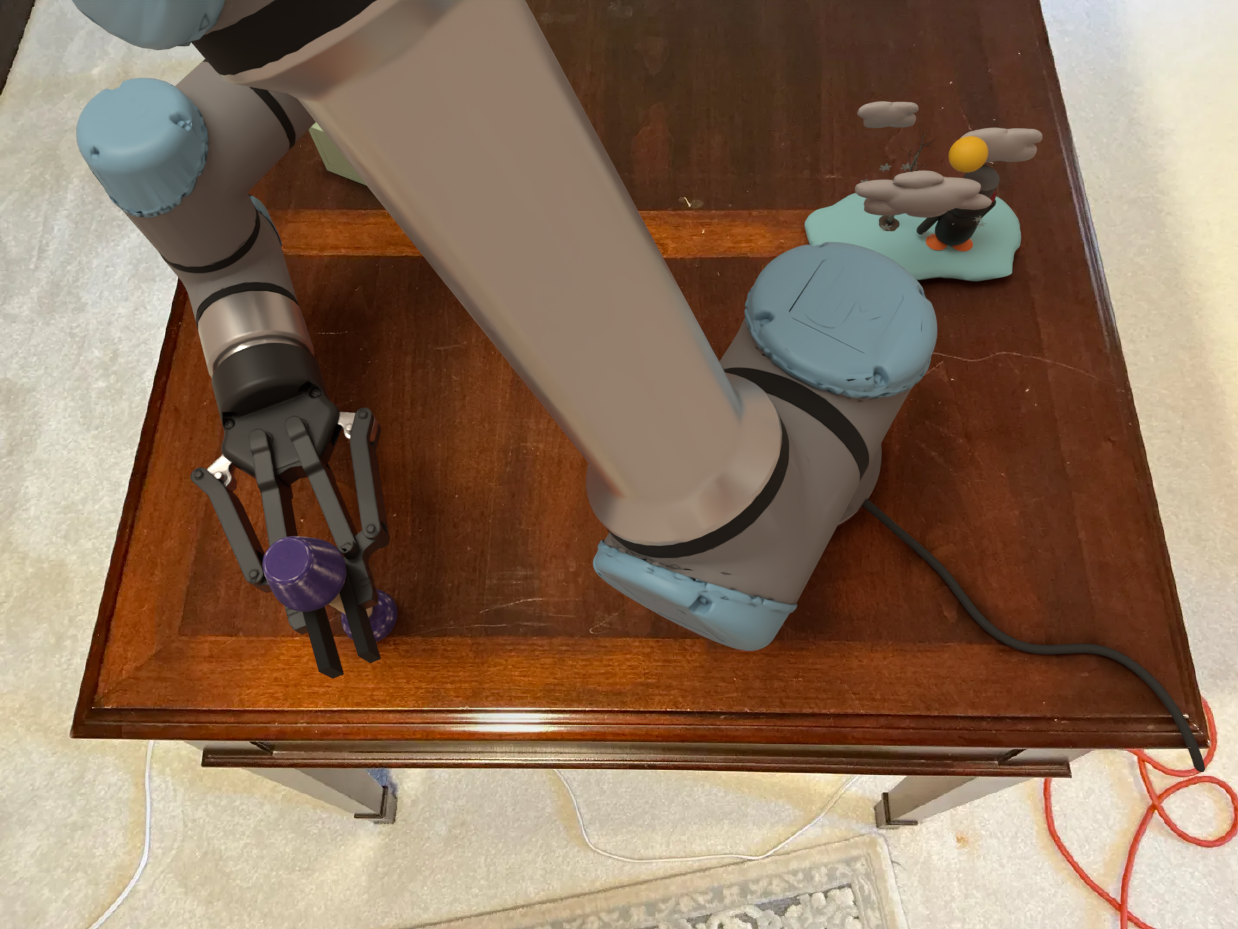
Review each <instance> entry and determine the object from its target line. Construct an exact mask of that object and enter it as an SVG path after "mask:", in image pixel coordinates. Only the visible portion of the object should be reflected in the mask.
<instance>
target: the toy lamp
mask: <svg viewBox="0 0 1238 929" xmlns="http://www.w3.org/2000/svg"><path fill="white" fill-rule="evenodd" d="M264 553H265V555H264V558H263V572H264V574H265V577H266V579H267V581H268V584H269V586H270V588H271V590H272V594H273V596H274V597H275V598H276V600H277V601H278V602H279V603H280V604H281V605H283V606H284V607H285V606H286V607H288V608H289V609H292V610H295V611H299V612H309V611H314V610H317V609H320V608H322V607H324V606H325V607H327V605H329V606H330V607H332V608H335V609H336V610H337V611H338V612H339V613H340V623H341V627H342V629H343V631H344V633H345V634H346V636H347V637H348V638H349V639H351V640H352V641H353V638H352V634H351V631H350V628H349V624H348V621H347V618H346V614H345V611H344V607H343V604H342V601H341V597H340V594H339V593H340V591H341V589H342V587H343V585H344V582H345V578H346V564H345V561H344V558H343V556H342V554H341V553H340V551H339V550H338V549H337V546H335V545H334V544H332V543H331V542H329V541H327V540H325V539H321V538H318V537H317V538H316V537H308V536H299V535H298V536H290V537H284V538H281V539H279V540H277V541H276V542H274V543H273V544H272V545H271V546H270V547H268V548H267V550H265V552H264ZM376 589H377V593H378V596H379V600H378V605H376V606H373V607H371V608H368V609H366V611H367V614H368V617H369V621H370V624H371V627H372V630H373V634H374V637H375V640H376V643H378V642H380V641H382V640H384V639H386V637H387V636H389V634H390V633H391V632H392V631H393V629H394V628H395V625H396V624H397V620H398V606H397V604H396V602H395V600H394V599H393V598H392V596H391V595H390V594H388V593H387V592H386V591H384V590H381V589H379V588H376Z"/></svg>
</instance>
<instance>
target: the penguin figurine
mask: <svg viewBox="0 0 1238 929" xmlns="http://www.w3.org/2000/svg"><path fill="white" fill-rule="evenodd" d="M918 112H919V105H918V104H917V103H915V102H911V101H894V102H891V101H886V100H885V101H883V100H881V101H880V100H879V101H873V102H869V103H866V104H863V105H862V106H860V107H859V108H858V110H857V117H859V118H861V119H862V123H863V124H862V125H863V127H865V128H868V129H882V128H887V127H890V128H907V127H908V128H909V127H912V126H914V125H915V123H916V121H917V116H916V115H915V113H918ZM918 128H919V130H920V131H919V132H922V128H921V126H918ZM928 129H929V126H928V127H927V129H926V131H925V133H924V131H923V133H922V134H923V136H920V138H921V143H920V146H919V150H917V151H915V152H914V153H912V154H911V152H912V150H909V153H908V151H906V150H904V149H903V148H902V146H901V145H900V143H899V146H900V147H899V148H901V150H903V151H904V153H906V154H908V155H906V157H908V159H906V161H907V162H906V164H901V166H902V167H900V170H903V171H904V172H903V173H902V172H901V173H899V174H897V175H894V178H893V179H873V180H868V178H865V179H864V180H860V182H859V183H857V184H856V185H855V187H854V193H851V194H849V195H847V196H846V197H843V198H842V199H840V200H839V201H837V202H836V203H834V204H832V205H830V206H826V207H821V208H818V209H816V210H814V211H812V212H811V213H810V214H809V215H808V216H807V217H806V219H805V221H804V230H805V234H806V237H807V241H808V244H809V245H813V246H816V245H821V244H823V243H825V242H841V243H848V244H853V245H858V246H862V247H865V248H868V249H871V250H874V251H876V252H878V253H880V254H883V255H885V256H887V257H888V258H890V259H892V260H893V261H895V262H896V263H898V264H899V265H901V266H902V267H903V268H905V269H906V270H907V271H908V272H909V273H910V274H911V275H912V276H913V277H914V278H915V279H916V280H917V281H918V282H919V281H923V280H930V279H937V278H941V279H954V280H955V279H956V280H962V281H967V282H968V281H969V282H981V281H989V280H994V279H999V278H1001V279H1002V278H1005V277H1008V276H1010V275H1012V274H1013V264H1014V263H1013V262H1014V260H1015V259H1014V258H1015V254H1016V251H1017V250H1018V249H1019V248H1020V247H1021V242H1022V231H1021V223H1020V220H1019V218H1018V216H1017V215H1016V213H1015V212H1014V211H1013V209H1012V208H1011V207H1010V206H1009V204H1007V202H1006V201H1004V200H1003V199H1002V198H1000V197H998V196H997V190H996V189H997V188H998V186H999V183H1000V181H1001V180H1000V175H999V173H998V172H997V171H996V169H995V168H993V167H992V166H989V165H987V164H985V163H993V162H999V161H1000V162H1004V163H1019V162H1020V163H1021V162H1025V161H1029V160H1031V159H1033V158H1035V156H1036V154H1037V151H1038V148H1037V146H1036V145H1035V144H1037V143H1041V142H1042V140H1043V133H1042V132H1041V131H1040V130H1038V129H1035V128H1024V127H1023V128H1022V127H1021V128H1018V127H1017V128H1015V127H1014V128H1003V127H985V128H980V129H975V130H971V131H968V132H966V133H965V134H963V135H962V136H961V137H960V138H959V139H957V140H956V141H955V142H953V144H952V145H951V147H950V149H949V151H948V162H949V164H950V166H951V168H953V169H954V170H955V171H957V172H959V173H963V174H964V175H963V177H953V176H951V177H950V176H943V175H942V174H940V173H939V172H937V171H932V170H920V169H922V168H924V169H927V166H929V165H928V164H927V163H926V160H923V163H922V164H921V166H920V165H918V162H919V160H918V158H919V156H920V154H921V152H922V149H924V147H927V146H928V147H930V149H931V150H933V151H934V149H933V148H931V146H934V144H932V143H933V142H934V141H936V139H937V137H939V135H940V134H939V135H937V137H935V138H934V139H933V140H931V141H930V142H925V143H924V140H925V135H926V133H927V131H928ZM908 146H911V145H910V143H908ZM911 156H912V157H913V159H912V163H911ZM924 163H926V166H924V165H923V164H924ZM891 167H892V166H891V165H888V163H885V164H884V165H882V164H881V165H880V168H879V169H878V171H882V172H884V171H890V168H891ZM902 168H903V169H902ZM913 168H914V169H913ZM906 170H907V171H906Z"/></svg>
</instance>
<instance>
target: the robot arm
mask: <svg viewBox="0 0 1238 929" xmlns="http://www.w3.org/2000/svg"><path fill="white" fill-rule="evenodd" d="M71 2H72V3H73V4H74V6H75V7H76V9H77V10H78V11H79V12H80V13H81V14H83V15H84V16H85V17H86V18H87V19H89V20H90V22H92V23H94V24H96V25H97V26H99V27H100V28H102V29H103V30H104V31H106V32H107V34H110V35H112V36H114V37H116V38H118V39H119V40H122V41H124V42H126V43H128V44H130V45H132V46H134V47H138V48H141V49H145V50H146V49H147V50H154V51H164V50H171V49H173V48H174V49H175V48H176V47H190V46H191V45H193V47H195V49H196V50H197V51H198V52H199V54H200V55H201V56H202V57H203V58H204V59H203V60H202V61H201V62H199V64H197V65H196V66H195V67H194V68H193V69H192V70H190V72H189V73H187V75H185V76H184V77H183V78H182V79H181V80H180V81H179V82H178V83H176V84H175V85H174V84H172V83H170V82H168V81H166V80H164V79H163V80H162V79H158V78H153V77H135V78H129V79H125V80H123V81H122V82H121V84H120V85H119V87H116V88H113V89H110V88H104V89H102V90H101V91H99V92H98V93H96V94H95V95H94V96H93V97H92V98H91V99H89V101H88V102H87V103H86V104H85V106H84V107H83V109H82V111H81V112H80V115H79V116H78V119H77V123H76V130H75V135H76V136H75V138H76V144H77V147H78V150H79V153H80V156H81V157H82V158H83V160H84V162H85V163H86V164H87V166H88V168H89V171H90V172H91V173H92V174H93V176H94V177H95V178H96V180H97V181H98V182H99V183H100V185H101V186H102V188H103V189H104V191H105V193H106V195H107V196H108V197H109V199H110V200H111V202H112V203H113V204H114V205H115V206H116V207H118V208H119V209H120V210H121V211H122V212H123V213H124V214H125V215H126V217H127V218H128V219H129V220H130V221H131V222H132V223H133V224H134V226H135V227H136V228H137V229H138V230H139V232H140V233H141V234H142V235H143V236H144V237H145V239H147V241H148V242H149V243H150V244H151V245H152V246H153V248H154V249H155V250H156V251H157V252H158V253H159V255H160V256H161V259H163V261H164V262H165V263H166V265H167V266H169V268H170V270H172V272H173V273H174V274H175V275H176V276H177V278H178V279H179V280H180V281H181V283H182V285H183V286H184V288H185V290H186V292H187V295H188V299H189V302H190V305H191V309H192V312H193V315H194V320H195V323H196V328H197V332H198V336H199V339H200V340H199V341H200V345H201V348H202V351H203V357H204V360H205V363H206V368H207V372H208V375H209V376H210V378H211V386H212V391H213V394H214V400H215V402H216V407H217V410H218V414H219V417H220V422H221V425H222V428H223V439H222V442H221V446H220V447H221V448H220V450H221V455H220V456H219V457H218V458H217V459H215V461H214V462H213V463H212V464H210V466H209V467H208V468H205V467H202V466H199V467H196V468H195V469H193V470H192V472H191V473H190V480H191V482H192V483H193V484H195V485H196V486H197V487H198V488H199V489H200V490H201V491H202V492H204V494H206V495H207V496H208V498H209V501H210V503H211V505H212V507H213V510H214V511H215V514H216V516H217V518H218V521H219V523H220V526H221V528H222V530H223V532H224V534H225V537H226V538H227V541H228V543H229V546H230V548H231V550H232V552H233V554H234V556H235V559H236V561H237V563H238V566H239V568H240V570H241V573H242V575H243V577H244V580H245V581H246V582H247V583H248V584H250V585H252V586H253V587H255V588H256V589H258V590H260V591H262V592H263V593H265V594H266V593H271V592H272V590H271V588H270V586H269V584H268V581H267V579H266V577H265V574H264V572H263V558H264V555H265V553H266V552H265V551H264V549H263V546H262V544H261V542H260V540H259V537H258V535H257V533H256V531H255V529H254V527H253V525H252V524H253V523H251V522H252V521H250V520H251V519H250V517H249V515H248V513H247V511H246V509H245V507H244V504H243V503H242V501H241V500H240V498H239V496H238V495H237V494H236V493H235V491H236V490H237V488H238V487H237V484H238V481H237V479H236V477H235V471H236V470H237V469H239V470H240V471H242V472H243V473H244V474H247V475H248V476H250V477H251V478H253V479H255V480H256V484H257V487H258V489H259V492H260V495H261V496H260V497H261V502H262V508H263V514H264V521H265V527H266V534H267V539H268V545H269V547H270V546H271V545H272V544H273V543H274V542H276V541H277V540H279V539H281V538H284V537H290V536H298V537H299V535H298V528H297V524H296V517H295V511H294V506H293V499H294V494H293V488H292V484H294V483H296V482H297V481H298V480H300V479H307V478H308V481H309V483H310V486H311V488H312V491H313V493H314V495H315V498H316V500H317V503H318V504H319V507H320V509H321V512H322V514H323V516H324V519H325V521H326V523H327V526H328V528H329V531H330V532H331V536H332V538H333V540H334V542H335V545H336V548H337V549H338V550H339V551H340V553H341V554H342V556H343V558H344V561H345V564H346V578H345V582H344V585H343V587H342V589H341V591H340V593H339V594H340V597H341V601H342V604H343V607H344V611H345V614H346V618H347V621H348V624H349V628H350V631H351V634H352V638H353V640H352V641H353V644H354V648H355V651H356V654H357V657H359V658H360V659H362V660H364V661H365V662H367V663H368V664H373V663H375V662H377V661H380V660H382V657H381V654H380V650H379V648H378V644H377V642H376V640H375V637H374V634H373V630H372V627H371V624H370V621H369V617H368V614H367V611H366V609H368V608H371V607H373V606H376V605H378V600H379V596H378V593H377V589H378V588H377V587H376V584H375V580H374V577H373V574H372V571H371V567H370V563H369V562H370V558H371V557H372V555H373V554H374V553H376V552H377V551H378V550H379V549H384V548H386V547H387V546H389V544H390V540H391V538H390V532H389V524H388V519H387V513H386V511H387V510H386V506H385V500H384V498H385V497H384V492H383V487H382V480H381V472H380V466H379V460H378V453H377V449H378V445H379V441H380V437H381V433H382V427H381V424H380V422H378V419H377V418H376V417H375V415H374V413H373V412H372V410H371V409H370V408H369V407H360V408H358V409H357V410H356V411H355V412H346V411H340V408H339V407H338V406H337V405H336V403H334V402H333V401H331V399H330V395H329V392H328V388H327V386H326V383H325V379H324V376H323V372H322V371H321V367H320V364H319V361H318V359H317V357H316V355H315V348H314V345H313V341H312V338H311V336H310V333H309V330H308V327H307V323H306V321H305V318H304V314H303V312H302V309H301V306H300V304H299V301H298V298H297V295H296V292H295V291H296V290H295V289H294V285H293V282H292V278H291V275H290V272H289V268H288V265H287V261H286V259H285V255H284V250H283V248H282V246H283V243H282V239H281V236H280V234H279V232H278V229H277V228H276V226H275V224H274V222H273V221H272V218H271V215H270V213H269V211H268V209H267V207H266V206H265V205H264V203H263V202H262V201H261V200H260V199H259V198H257V197H255V196H254V195H251V194H249V192H250V191H251V190H252V189H253V188H254V187H255V186H256V185H258V183H259V182H260V181H261V180H262V179H263V178H264V177H265V176H266V175H267V174H268V173H269V172H270V170H272V169H273V168H274V166H275V165H276V164H277V163H279V161H281V160H282V158H283V157H284V156H285V155H286V154H287V153H289V151H290V150H291V149H292V148H293V147H294V146H295V145H296V143H297V142H298V141H299V140H300V139H301V138H302V137H303V136H304V135H305V134H306V133H307V132H309V129H310V128H311V127H312V126H313V125H314V124H315V123H317V124H318V125H319V126H320V128H321V129H322V130H323V131H324V133H325V134H326V135H327V136H328V138H329V139H330V140H331V141H332V143H333V144H334V145H335V146H336V148H337V149H338V150H339V151H340V153H341V154H342V155H343V156H344V158H345V159H346V160H347V161H348V163H349V164H350V165H351V166H352V168H353V169H354V170H355V171H356V173H357V174H358V175H359V176H360V178H361V179H362V180H363V181H364V183H365V184H366V185H367V188H368V189H369V190H370V192H371V193H372V194H373V196H374V197H375V198H376V199H377V200H378V202H379V203H380V204H381V205H382V207H383V208H384V210H386V212H387V213H388V214H389V216H390V217H391V218H392V219H393V220H394V222H395V223H396V224H397V226H398V227H399V228H400V229H401V231H402V233H404V234H405V235H406V237H407V238H408V239H409V240H410V241H411V243H412V244H413V245H414V247H415V248H416V250H417V251H418V252H419V253H420V254H421V256H422V257H423V258H424V259H425V260H426V262H427V263H428V264H429V266H430V267H431V268H432V269H433V270H434V272H435V273H436V274H437V276H438V277H439V278H440V279H441V281H442V282H443V283H444V284H445V286H446V287H447V288H448V289H449V290H450V292H451V293H452V294H453V296H454V297H455V298H456V300H457V301H458V302H459V303H460V304H461V306H462V307H463V308H464V309H465V311H466V312H467V313H468V314H469V316H470V317H471V318H472V319H473V321H474V322H475V323H476V324H477V325H478V327H479V328H480V329H481V330H482V332H483V333H484V334H485V336H486V337H487V338H488V340H490V342H491V343H492V344H493V346H494V347H495V348H496V350H497V351H498V352H499V353H500V354H501V355H502V357H503V359H504V360H505V361H506V362H507V363H508V364H509V366H510V367H511V368H512V370H513V371H514V372H515V373H516V375H517V376H518V377H519V378H520V379H521V381H522V382H523V383H524V385H525V386H526V387H527V388H528V390H529V391H530V392H531V393H532V394H533V396H534V397H535V399H537V401H538V402H539V403H540V404H541V406H542V407H543V408H544V409H545V411H546V412H547V413H548V414H549V416H550V417H551V418H552V419H553V421H554V422H555V423H556V424H557V426H558V427H559V428H560V429H561V431H562V432H563V433H564V434H565V436H566V437H567V438H568V440H569V441H570V442H571V443H572V444H573V446H574V447H575V448H576V450H577V451H578V452H579V453H580V455H581V456H582V457H583V458H584V459H585V461H586V462H587V467H586V468H587V469H586V476H585V490H586V496H587V501H588V504H589V505H590V508H591V510H592V512H593V514H594V515H595V518H596V519H598V521H599V522H600V524H601V525H603V528H605V529H606V530H607V531H608V534H607V536H606V537H605V539H601V540H600V541H599V543H598V544H597V551H596V553H595V555H594V557H593V562H592V567H593V569H594V572H595V573H596V575H598V577H599V578H600V579H602V580H603V581H604V582H605V583H606V584H608V585H609V586H611V588H613V589H615V590H616V591H617V592H619V593H621V594H622V595H624V596H626V597H628V598H629V599H630V600H632V601H634V602H636V603H638V604H639V605H641V606H643V607H644V608H646V609H648V610H650V611H651V612H654V613H655V614H657V615H659V616H661V617H663V618H664V619H666V620H668V621H670V622H672V623H673V624H676V625H678V626H680V627H682V628H684V629H686V630H689V631H691V632H693V633H695V634H697V635H699V636H701V637H703V638H706V639H708V640H710V641H713V642H715V643H717V644H721V645H724V646H726V647H729V648H732V649H735V650H740V651H745V652H754V651H759V650H761V649H764V648H766V647H767V646H769V645H770V644H771V643H772V642H773V641H774V640H775V638H776V636H777V634H778V633H779V631H780V629H781V628H782V627H783V625H784V623H785V622H786V620H787V619H788V617H789V615H790V614H792V613H794V612H795V610H797V609H798V608H797V607H798V603H797V602H799V600H800V597H801V595H802V594H803V591H804V590H805V588H806V586H807V584H808V583H809V580H810V579H811V577H812V575H813V573H814V570H815V569H816V567H817V565H818V563H819V561H820V559H821V558H822V556H823V554H824V552H825V550H826V548H827V546H828V545H829V542H830V541H831V539H832V537H833V535H834V534H835V531H836V530H837V529H840V528H841V527H843V526H844V525H845V524H847V523H848V522H849V521H850V520H851V519H853V518H854V517H855V516H856V515H857V514H858V513H859V511H861V509H862V508H864V509H865V510H866V511H867V512H868V513H870V515H872V516H873V517H874V518H876V520H878V521H879V522H880V523H881V524H882V525H883V526H885V527H886V528H887V529H888V530H890V532H892V533H893V534H894V535H895V536H896V537H898V538H899V539H900V540H901V541H902V543H905V545H907V546H908V547H909V548H910V549H911V550H913V551H914V552H915V553H916V554H917V555H918V556H920V557H921V558H922V559H923V560H924V561H925V562H926V563H927V564H928V565H929V566H930V567H931V568H932V569H933V570H934V571H935V572H936V573H937V574H938V575H939V576H940V577H941V579H942V580H943V581H944V583H945V584H946V586H948V588H949V589H950V590H951V592H952V593H953V595H954V596H955V597H956V599H957V600H958V602H960V604H961V605H962V607H963V608H964V609H965V611H966V613H968V614H969V616H970V617H971V618H972V619H973V620H974V621H975V622H976V623H977V624H978V625H979V626H980V627H981V628H982V629H983V630H984V631H985V632H986V633H987V634H989V635H990V636H992V637H993V638H994V639H995V640H998V641H999V642H1000V643H1002V644H1004V645H1005V646H1008V647H1010V648H1013V649H1015V650H1017V651H1021V652H1025V653H1029V654H1035V655H1068V654H1069V655H1070V654H1089V655H1090V654H1091V655H1098V656H1103V657H1106V658H1109V659H1112V660H1113V661H1116V662H1118V663H1119V664H1121V665H1123V666H1124V667H1126V668H1127V669H1129V670H1130V671H1132V672H1133V673H1134V674H1135V675H1136V676H1138V677H1139V678H1140V679H1141V680H1142V681H1143V682H1144V683H1145V684H1146V685H1147V686H1149V688H1150V689H1151V690H1152V691H1153V692H1154V693H1155V695H1156V696H1157V697H1158V698H1159V700H1160V702H1162V704H1163V706H1164V707H1165V708H1166V710H1167V712H1168V713H1169V714H1170V716H1171V717H1172V720H1173V721H1174V723H1175V725H1176V727H1177V729H1178V730H1179V733H1180V735H1181V737H1182V740H1183V741H1184V744H1185V746H1186V748H1187V751H1188V753H1189V756H1190V759H1191V760H1192V761H1191V762H1192V765H1193V768H1194V769H1195V770H1196V771H1197V772H1199V773H1205V771H1206V766H1205V765H1206V764H1205V762H1204V757H1203V755H1202V753H1201V750H1200V747H1199V745H1198V742H1197V740H1196V737H1195V735H1194V733H1193V731H1192V729H1191V727H1190V725H1189V723H1188V721H1187V720H1186V718H1185V716H1184V714H1183V713H1182V711H1181V709H1180V708H1179V706H1178V705H1177V703H1176V702H1175V700H1174V699H1173V698H1172V696H1171V695H1170V694H1169V692H1168V691H1167V690H1166V689H1165V687H1164V686H1163V685H1162V684H1161V683H1160V682H1159V681H1158V680H1157V679H1156V677H1154V676H1153V675H1152V673H1150V672H1149V671H1148V670H1147V669H1145V668H1144V667H1143V666H1142V665H1140V664H1139V662H1137V661H1135V660H1133V659H1132V658H1131V657H1130V656H1128V655H1126V654H1124V653H1122V652H1121V651H1118V650H1116V649H1113V648H1111V647H1107V646H1106V645H1105V646H1104V645H1100V644H1094V643H1063V644H1061V643H1060V644H1038V643H1030V642H1027V641H1023V640H1020V639H1017V638H1015V637H1013V636H1011V635H1009V634H1007V633H1005V632H1004V631H1003V630H1000V629H999V628H998V627H997V626H995V625H994V624H993V623H992V622H991V621H989V620H988V619H987V617H985V615H983V613H981V612H980V610H979V609H978V608H977V607H976V606H975V604H974V603H973V601H972V600H971V599H970V597H969V596H968V595H967V593H966V592H965V590H964V589H963V588H962V587H961V586H960V584H959V582H957V580H956V578H955V577H953V575H952V574H951V573H950V571H949V570H948V569H947V568H946V567H945V566H944V565H943V563H941V562H940V561H939V559H938V558H936V557H935V556H934V555H933V554H932V553H931V551H929V550H927V549H926V547H924V545H922V544H921V543H920V542H918V541H917V540H916V539H915V538H914V537H913V536H912V535H910V533H908V532H907V531H906V530H905V529H903V528H902V527H901V526H900V525H899V524H898V523H897V522H895V520H893V519H892V518H891V517H890V516H888V514H886V513H885V512H884V511H882V509H880V508H879V507H878V506H877V505H875V503H873V502H872V501H871V500H869V498H870V497H871V495H872V493H873V491H874V490H875V487H876V485H877V483H878V480H879V476H880V472H881V466H882V458H883V457H882V455H883V454H882V453H883V452H882V451H883V450H882V443H883V441H884V439H885V437H886V435H887V433H888V432H889V429H890V427H891V426H892V424H893V423H894V420H895V419H896V417H897V416H898V413H899V411H900V409H901V408H902V407H903V404H904V403H905V401H906V399H907V398H908V396H909V394H910V392H911V390H913V387H914V386H915V385H916V384H918V383H920V382H921V380H922V379H923V378H924V376H925V375H926V373H927V372H928V371H929V368H930V365H931V362H932V355H933V353H934V350H935V348H936V345H937V340H938V337H937V336H938V321H937V316H936V312H935V309H934V306H933V303H932V302H931V301H930V300H929V299H928V298H927V297H926V295H925V294H926V293H925V290H924V288H923V286H922V285H921V283H920V282H919V280H918V281H917V280H916V279H915V278H914V277H913V276H912V275H911V274H910V273H909V272H908V271H907V270H906V269H905V268H903V267H902V266H901V265H899V264H898V263H896V262H895V261H893V260H892V259H890V258H888V257H887V256H885V255H883V254H880V253H878V252H876V251H874V250H871V249H868V248H865V247H862V246H858V245H853V244H848V243H841V242H825V243H823V244H821V245H816V246H813V245H810V244H809V243H808V244H803V245H799V246H796V247H793V248H791V249H788V250H786V251H785V252H782V253H781V254H779V255H777V256H776V257H775V258H774V259H772V260H771V261H770V262H768V264H766V265H765V267H764V268H763V269H762V270H761V271H760V272H759V273H758V274H759V275H758V277H756V279H755V282H754V284H753V285H752V287H750V289H749V291H748V292H747V296H746V301H745V303H744V307H745V308H744V318H743V320H742V323H741V325H740V327H739V329H738V331H737V333H736V334H735V337H733V340H732V341H731V343H730V344H729V346H728V347H727V349H726V351H725V352H724V354H723V355H722V357H721V358H720V360H719V359H718V357H717V355H716V353H715V351H714V349H713V348H712V346H711V344H710V342H709V341H708V338H707V336H706V335H705V333H704V331H703V329H702V328H701V326H700V324H699V322H698V320H697V318H696V316H695V314H694V312H693V310H692V309H691V307H690V305H689V302H688V301H687V299H686V297H685V296H684V294H683V292H682V290H681V288H680V286H679V283H678V282H677V280H676V279H675V276H674V274H673V273H672V271H671V270H670V268H669V266H668V264H667V262H666V260H665V258H664V256H663V254H662V253H661V251H660V249H659V247H658V246H657V243H656V241H655V240H654V238H653V236H652V234H651V232H650V230H649V228H648V226H647V225H646V223H645V221H644V219H643V217H642V215H641V213H640V211H639V210H638V208H637V206H636V204H635V203H634V200H633V198H632V197H631V194H630V192H629V191H628V189H627V187H626V185H625V184H624V181H623V180H622V178H621V176H620V174H619V172H618V171H617V168H616V167H615V165H614V163H613V161H612V159H611V158H610V156H609V153H608V152H607V150H606V148H605V146H604V145H603V143H602V140H601V139H600V136H599V135H598V133H597V131H596V129H595V128H594V126H593V124H592V122H591V120H590V118H589V117H588V115H587V112H586V111H585V109H584V107H583V105H582V103H581V102H580V100H579V98H578V96H577V94H576V92H575V90H574V87H572V85H571V83H570V81H569V79H568V77H567V75H566V73H565V72H564V70H563V68H562V66H561V64H560V61H558V59H557V57H556V55H555V53H554V51H553V49H552V48H551V45H550V44H549V41H548V40H547V38H546V37H545V36H546V35H545V34H544V33H543V31H542V28H541V27H540V25H539V23H538V22H537V19H536V18H535V16H534V14H533V12H532V10H531V8H530V6H529V5H528V3H527V0H71ZM366 185H365V186H366ZM342 431H343V435H344V437H345V439H347V441H348V442H349V446H350V447H349V448H350V456H351V463H352V470H353V476H354V483H355V489H356V490H355V491H356V497H357V498H356V499H357V504H358V512H359V518H360V524H361V531H357V528H356V526H355V524H354V521H353V519H352V517H351V513H350V512H349V510H348V507H347V504H346V502H345V500H344V498H343V495H342V493H341V491H340V489H339V486H338V484H337V482H336V481H337V479H336V477H335V474H334V472H333V470H332V468H331V465H330V461H331V458H332V456H333V453H334V450H335V448H336V446H337V444H338V440H339V439H340V435H341V433H342ZM269 547H268V548H269ZM272 593H273V592H272ZM284 610H285V614H286V617H287V622H288V624H289V626H290V627H291V628H292V629H293V631H294V632H296V633H298V634H300V635H301V636H303V635H306V634H308V637H309V638H308V639H309V641H310V645H311V648H312V652H313V655H314V660H315V664H316V667H317V671H318V673H320V674H322V675H324V676H326V677H328V678H330V679H333V680H334V679H337V678H338V677H341V676H343V675H345V672H344V668H343V666H342V662H341V658H340V654H339V651H338V648H337V647H338V646H337V645H336V641H335V638H334V634H333V630H332V628H331V627H332V626H331V624H330V619H329V616H328V613H327V609H326V606H324V607H322V608H320V609H317V610H314V611H309V612H299V611H295V610H292V609H289V608H288V607H286V606H284ZM1188 747H1191V748H1188Z"/></svg>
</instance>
